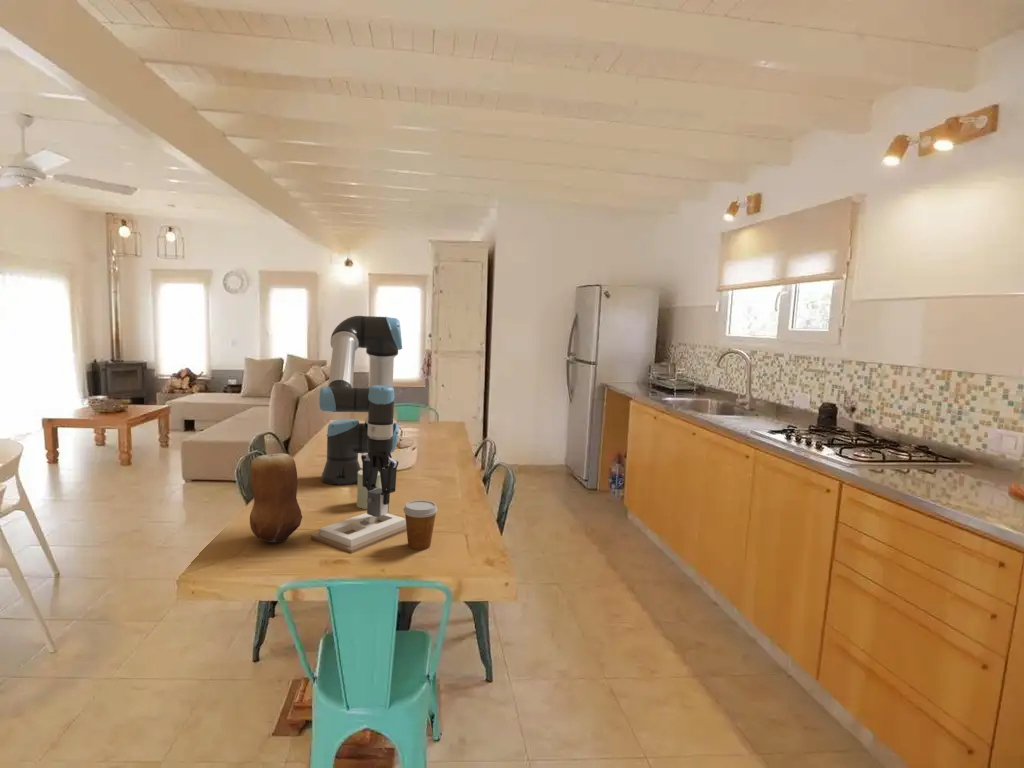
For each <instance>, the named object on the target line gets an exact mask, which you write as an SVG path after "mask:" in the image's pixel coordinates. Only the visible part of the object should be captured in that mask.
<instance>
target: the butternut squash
mask: <svg viewBox="0 0 1024 768" xmlns="http://www.w3.org/2000/svg"><path fill="white" fill-rule="evenodd" d="M297 470H298V469H297V464H296V461H295V459H294V458H293V457H292V455H290V454H288V453H284V452H283V453H282V452H281V453H279V452H278V453H272V454H262V455H259V456H256V457H255V458H253V460H252V461H251V466H250V485H251V491H252V494H253V499H254V500H253V506H252V508H251V511H250V514H249V527H250V529H251V532H252V533H253V535H254V536H255V537H256V538H257V539H260V540H263V541H265V542H267V543H283V542H284V541H286V540H287V539H288V538H289V537H290V536H291V535H292V534H293V533H294V532H295V531H296V530H297V529H298V528H299V527H300V525H301V523H302V519H303V516H302V511H301V510H302V509H301V507H300V505H299V502H298V499H297V493H298V471H297Z"/></svg>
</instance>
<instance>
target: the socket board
mask: <svg viewBox="0 0 1024 768" xmlns="http://www.w3.org/2000/svg"><path fill="white" fill-rule="evenodd" d="M405 532H407V528H406V517H401V516H398V515H395V514H391V513H387V514H384V515H382V516H378V517H375V516H372V515H369V514H367V512H364V513H361V514H359V515H356V516H353V517H350V518H347V519H344V520H341V521H338V522H335V523H332V524H329V525H327V526H323V527H320V528H319V532H316V533H313V534H310V539H312V540H316V541H318V542H321V543H323V544H326V545H329V546H331V547H334V548H337V549H339V550H342V551H345V552H348V553H350V554H353V553H354V554H355V553H356V552H358V551H360V550H363V549H365V548H368V547H370V546H374V545H376V544H378V543H380V542H383V541H385V540H387V539H390V538H393V537H395V536H397V535H400V534H402V533H405Z"/></svg>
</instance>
